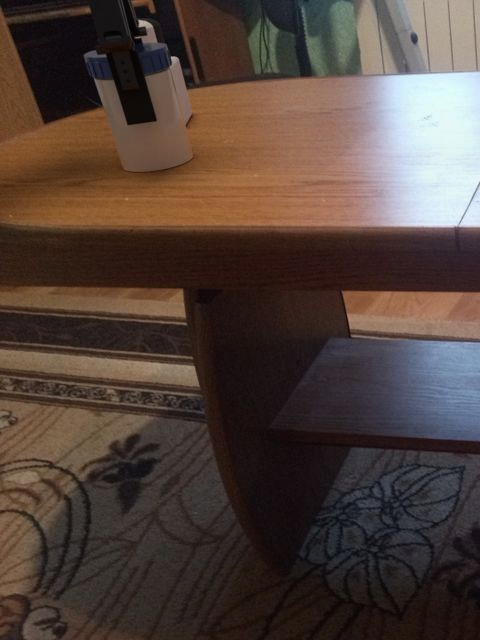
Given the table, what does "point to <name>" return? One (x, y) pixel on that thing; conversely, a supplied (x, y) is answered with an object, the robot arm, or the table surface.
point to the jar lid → (149, 53)
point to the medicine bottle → (157, 37)
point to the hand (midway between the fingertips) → (144, 113)
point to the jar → (148, 126)
